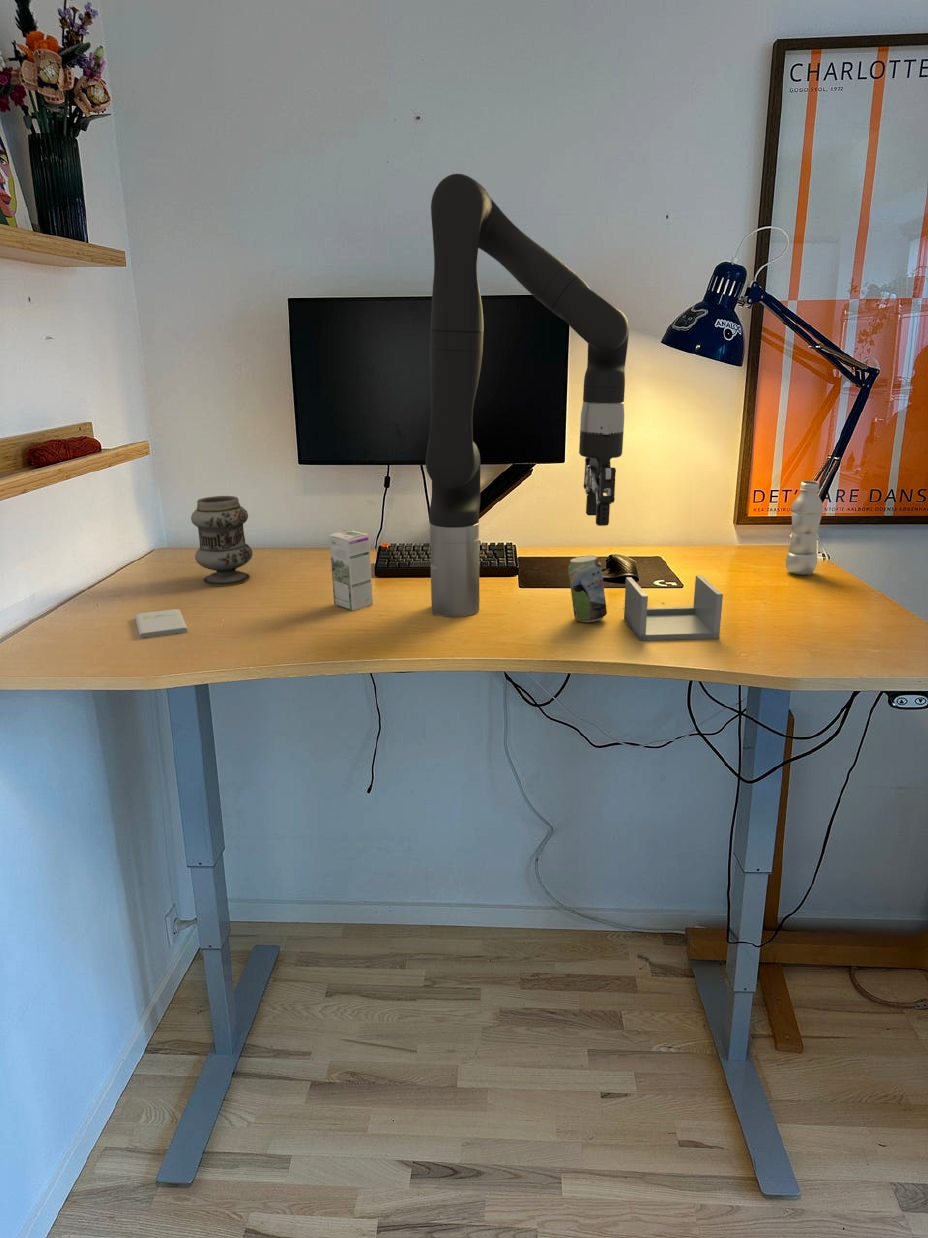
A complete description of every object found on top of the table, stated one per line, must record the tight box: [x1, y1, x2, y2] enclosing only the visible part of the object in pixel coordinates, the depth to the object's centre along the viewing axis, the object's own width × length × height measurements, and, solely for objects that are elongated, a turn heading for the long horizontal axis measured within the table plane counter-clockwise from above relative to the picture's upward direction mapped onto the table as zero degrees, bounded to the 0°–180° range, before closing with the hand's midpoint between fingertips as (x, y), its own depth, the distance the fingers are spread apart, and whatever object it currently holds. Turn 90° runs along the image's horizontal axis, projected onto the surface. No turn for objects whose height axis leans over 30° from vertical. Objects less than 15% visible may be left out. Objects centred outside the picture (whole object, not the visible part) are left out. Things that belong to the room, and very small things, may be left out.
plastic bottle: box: [785, 480, 824, 576], centre depth 187 cm, size 6×7×20 cm
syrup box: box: [328, 529, 374, 611], centre depth 170 cm, size 6×6×14 cm
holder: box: [623, 574, 724, 641], centre depth 156 cm, size 14×12×8 cm
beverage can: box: [567, 555, 608, 623], centre depth 160 cm, size 6×7×12 cm
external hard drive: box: [134, 608, 189, 639], centre depth 162 cm, size 2×8×12 cm
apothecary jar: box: [190, 495, 253, 587], centre depth 188 cm, size 12×12×18 cm
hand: (596, 520), depth 157 cm, fingers open, 8 cm apart
